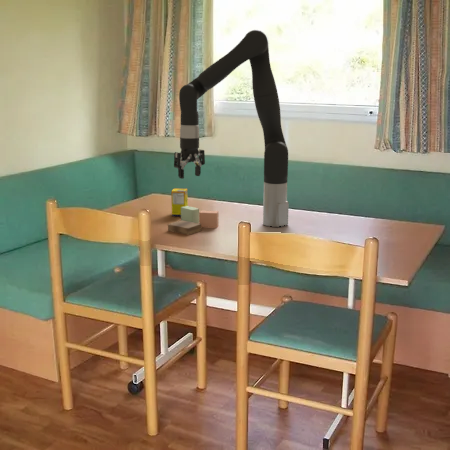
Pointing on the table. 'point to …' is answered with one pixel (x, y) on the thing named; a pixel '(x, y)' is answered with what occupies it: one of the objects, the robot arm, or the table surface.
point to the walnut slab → (184, 227)
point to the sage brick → (190, 214)
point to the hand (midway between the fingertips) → (189, 177)
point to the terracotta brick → (208, 219)
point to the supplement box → (178, 200)
